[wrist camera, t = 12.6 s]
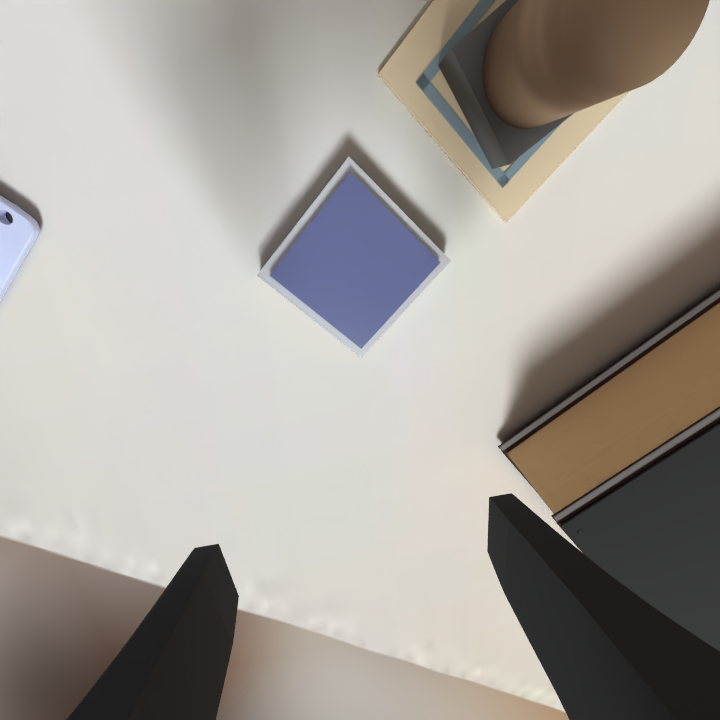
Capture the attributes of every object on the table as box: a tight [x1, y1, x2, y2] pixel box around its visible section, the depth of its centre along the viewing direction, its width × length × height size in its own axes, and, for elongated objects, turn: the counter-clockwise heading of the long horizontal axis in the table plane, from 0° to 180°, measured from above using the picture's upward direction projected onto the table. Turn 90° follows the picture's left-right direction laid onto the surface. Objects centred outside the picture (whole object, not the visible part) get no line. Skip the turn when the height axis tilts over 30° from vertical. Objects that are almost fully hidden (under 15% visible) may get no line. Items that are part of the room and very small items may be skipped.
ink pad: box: [257, 157, 451, 358], centre depth 16 cm, size 6×6×1 cm
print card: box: [378, 0, 629, 222], centre depth 14 cm, size 8×7×1 cm
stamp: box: [438, 0, 710, 169], centre depth 11 cm, size 4×4×6 cm
